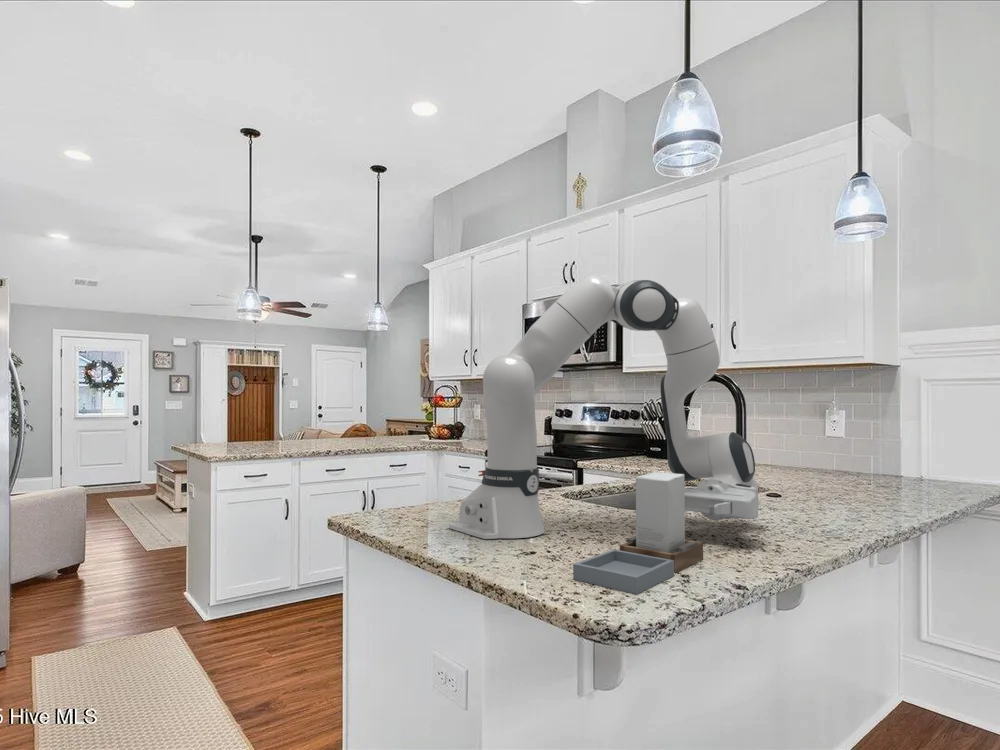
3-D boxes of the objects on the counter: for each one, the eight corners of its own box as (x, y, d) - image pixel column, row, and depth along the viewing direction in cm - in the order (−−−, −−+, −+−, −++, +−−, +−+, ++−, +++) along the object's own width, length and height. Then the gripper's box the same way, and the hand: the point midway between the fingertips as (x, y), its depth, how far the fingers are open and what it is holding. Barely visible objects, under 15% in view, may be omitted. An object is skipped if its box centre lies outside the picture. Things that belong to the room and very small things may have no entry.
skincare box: (654, 553, 114) (653, 471, 115) (688, 559, 110) (686, 473, 111) (634, 562, 108) (633, 475, 108) (669, 569, 104) (668, 478, 104)
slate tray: (573, 579, 98) (573, 563, 98) (613, 563, 107) (613, 549, 108) (637, 594, 90) (636, 577, 90) (674, 575, 100) (674, 560, 100)
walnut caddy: (618, 561, 108) (618, 541, 108) (649, 549, 117) (649, 531, 117) (676, 573, 101) (675, 551, 101) (704, 559, 110) (703, 539, 110)
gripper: (671, 479, 136) (641, 486, 126) (765, 487, 122) (740, 496, 112) (671, 507, 136) (641, 516, 125) (765, 519, 122) (741, 530, 112)
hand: (689, 507), depth 119 cm, fingers open, 8 cm apart
